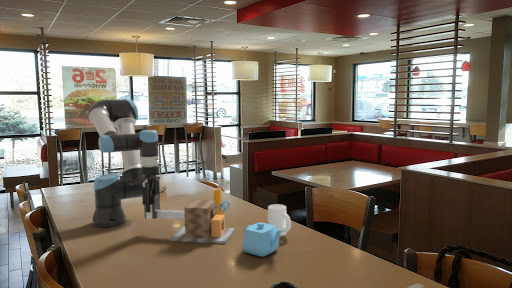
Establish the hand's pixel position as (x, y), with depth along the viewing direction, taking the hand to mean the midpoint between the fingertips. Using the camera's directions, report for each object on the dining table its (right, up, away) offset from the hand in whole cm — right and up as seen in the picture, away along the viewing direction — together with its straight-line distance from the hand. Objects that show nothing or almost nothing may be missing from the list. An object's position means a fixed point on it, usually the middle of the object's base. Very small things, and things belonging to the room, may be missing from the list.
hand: (152, 216), depth 168 cm
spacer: (+30, -3, -5) cm, 30 cm away
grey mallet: (+10, 0, -2) cm, 11 cm away
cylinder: (+27, -5, +19) cm, 34 cm away
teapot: (+49, -10, -22) cm, 55 cm away
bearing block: (+22, -7, -3) cm, 24 cm away
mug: (+57, -7, -3) cm, 57 cm away
